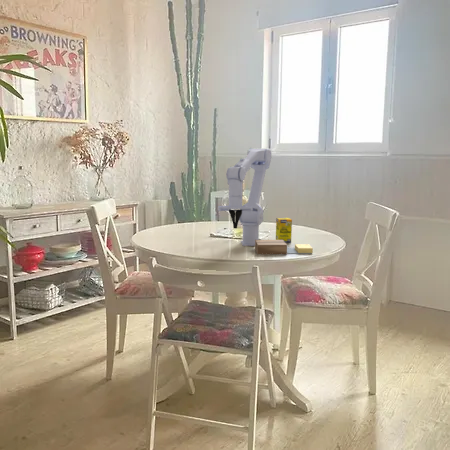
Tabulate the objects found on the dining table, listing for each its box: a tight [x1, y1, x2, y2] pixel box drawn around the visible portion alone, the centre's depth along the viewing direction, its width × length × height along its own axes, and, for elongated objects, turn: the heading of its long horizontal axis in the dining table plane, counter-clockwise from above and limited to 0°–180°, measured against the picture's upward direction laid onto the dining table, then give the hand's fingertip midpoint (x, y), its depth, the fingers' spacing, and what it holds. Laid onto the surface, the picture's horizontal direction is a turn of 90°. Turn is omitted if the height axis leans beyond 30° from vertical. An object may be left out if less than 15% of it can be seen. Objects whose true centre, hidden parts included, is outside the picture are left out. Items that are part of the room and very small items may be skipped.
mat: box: [286, 247, 312, 255], centre depth 206 cm, size 11×10×1 cm
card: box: [294, 243, 314, 253], centre depth 205 cm, size 8×6×2 cm
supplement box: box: [275, 217, 293, 244], centre depth 225 cm, size 6×6×11 cm
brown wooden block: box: [254, 239, 288, 256], centre depth 204 cm, size 11×12×4 cm
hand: (235, 228), depth 203 cm, fingers closed
